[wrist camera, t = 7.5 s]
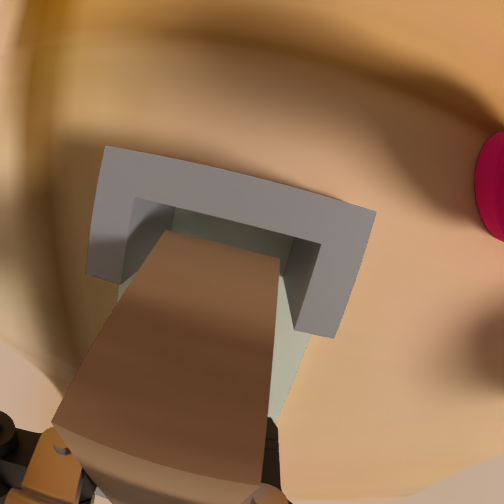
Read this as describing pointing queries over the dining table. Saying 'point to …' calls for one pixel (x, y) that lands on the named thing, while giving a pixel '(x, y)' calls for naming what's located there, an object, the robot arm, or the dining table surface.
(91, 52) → the dining table surface
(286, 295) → the holder
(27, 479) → the robot arm
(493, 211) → the pepper mill
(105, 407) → the slat
